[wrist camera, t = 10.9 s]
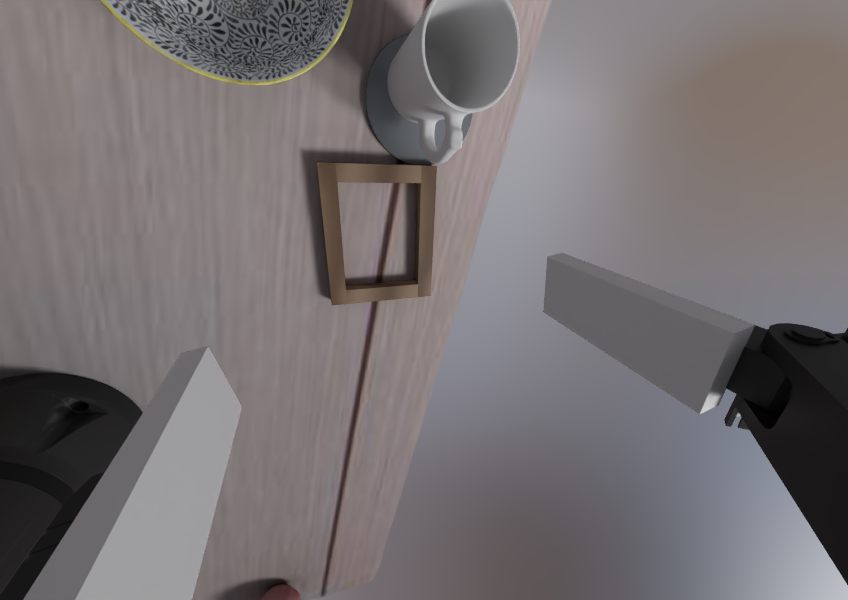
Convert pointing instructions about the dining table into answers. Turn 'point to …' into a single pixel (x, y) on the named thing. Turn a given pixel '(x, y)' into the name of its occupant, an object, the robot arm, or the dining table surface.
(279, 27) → the bowl
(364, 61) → the dining table surface
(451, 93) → the mug
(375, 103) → the coaster
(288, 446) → the dining table surface
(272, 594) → the apple
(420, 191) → the holder
